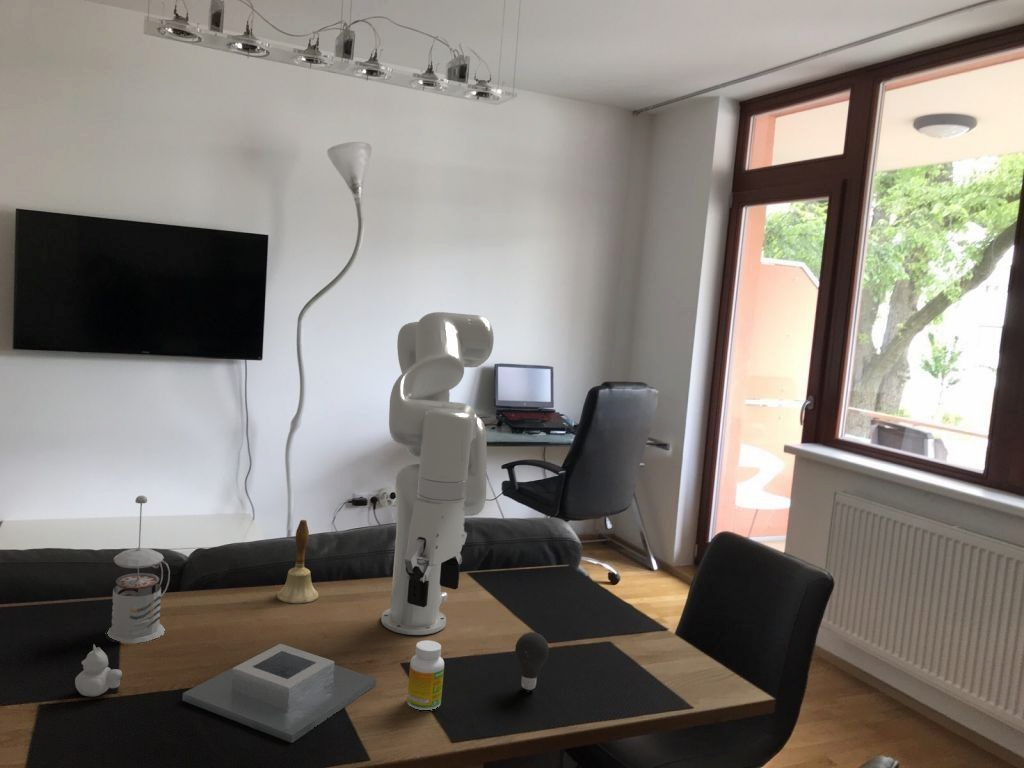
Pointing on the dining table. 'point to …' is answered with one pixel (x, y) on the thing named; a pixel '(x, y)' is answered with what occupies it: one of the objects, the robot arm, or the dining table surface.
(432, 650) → the supplement bottle
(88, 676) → the rubber duck
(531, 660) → the light bulb
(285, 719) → the collar plate
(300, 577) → the hand bell
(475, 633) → the dining table surface
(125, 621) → the french press
